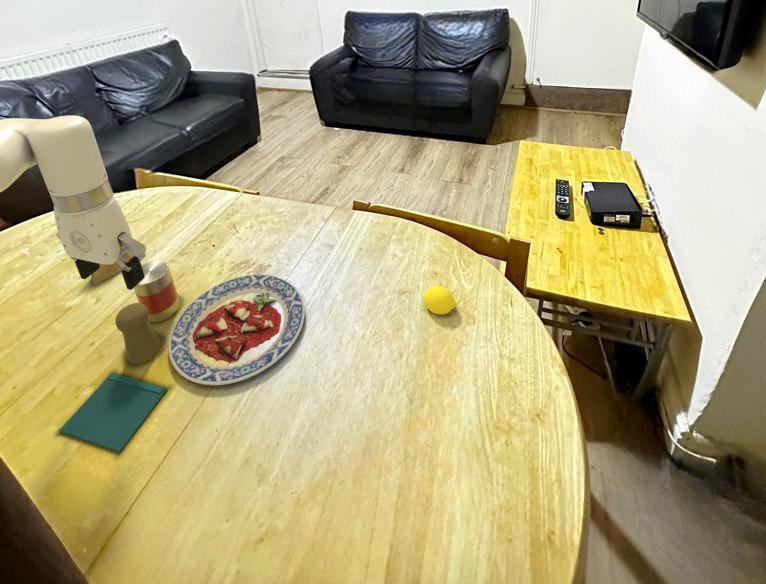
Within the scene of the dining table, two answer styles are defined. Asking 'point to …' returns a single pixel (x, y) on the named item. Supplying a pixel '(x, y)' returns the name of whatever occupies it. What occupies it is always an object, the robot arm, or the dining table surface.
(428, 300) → the lemon
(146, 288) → the tin can
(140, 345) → the brown pepper mill
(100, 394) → the notepad
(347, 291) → the dining table surface
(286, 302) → the ceramic plate
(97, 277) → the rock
